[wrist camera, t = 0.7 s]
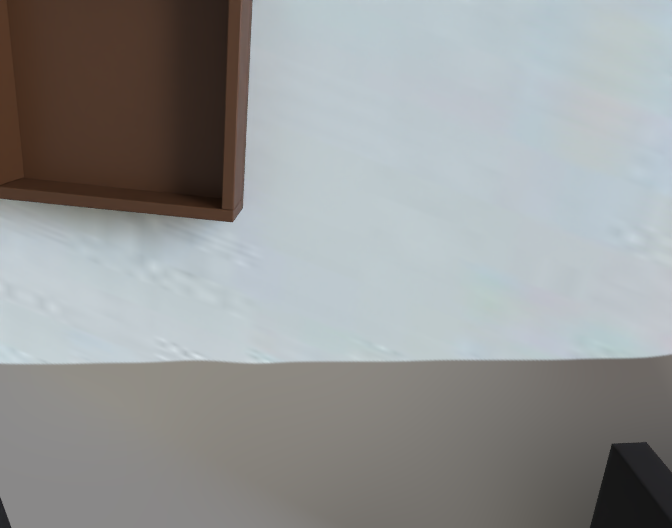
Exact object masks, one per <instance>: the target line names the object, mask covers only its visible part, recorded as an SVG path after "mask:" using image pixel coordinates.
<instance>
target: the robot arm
mask: <svg viewBox="0 0 672 528" xmlns="http://www.w3.org/2000/svg"><path fill="white" fill-rule="evenodd" d="M0 528H11V526H10V523H9V520H8V517H7V515H6V512H5V509H4V506H3V504H2V501H1V498H0ZM590 528H672V472H671V471H670V470H669V469H668V467H667V466H666V465H665V464H664V463H663V461H662V460H661V459H660V458H659V457H658V456H657V454H656V453H655V452H654V451H653V450H652V448H651V447H650V446H649V445H648V444H647V442H641V443H618V444H612V446H611V450H610V454H609V457H608V461H607V465H606V468H605V473H604V476H603V480H602V484H601V488H600V491H599V495H598V499H597V503H596V507H595V511H594V515H593V519H592V522H591V526H590Z"/></svg>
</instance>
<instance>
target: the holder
mask: <svg viewBox="0 0 672 528" xmlns="http://www.w3.org/2000/svg"><path fill="white" fill-rule="evenodd" d="M251 20H252V0H0V199H9V200H19V201H29V202H39V203H48V204H58V205H68V206H78V207H88V208H98V209H108V210H117V211H127V212H137V213H147V214H157V215H167V216H176V217H186V218H196V219H206V220H216V221H226V222H233V221H234V220H235V218H236V217H237V215H238V214H239V212H240V211H241V210H242V208H243V191H244V170H245V148H246V127H247V106H248V84H249V63H250V41H251Z"/></svg>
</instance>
